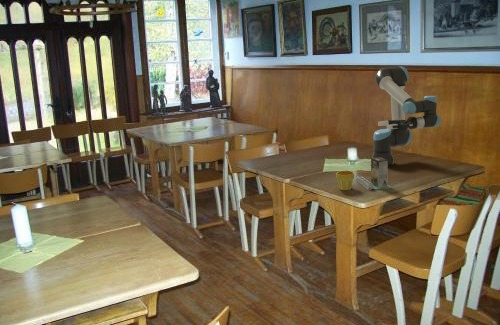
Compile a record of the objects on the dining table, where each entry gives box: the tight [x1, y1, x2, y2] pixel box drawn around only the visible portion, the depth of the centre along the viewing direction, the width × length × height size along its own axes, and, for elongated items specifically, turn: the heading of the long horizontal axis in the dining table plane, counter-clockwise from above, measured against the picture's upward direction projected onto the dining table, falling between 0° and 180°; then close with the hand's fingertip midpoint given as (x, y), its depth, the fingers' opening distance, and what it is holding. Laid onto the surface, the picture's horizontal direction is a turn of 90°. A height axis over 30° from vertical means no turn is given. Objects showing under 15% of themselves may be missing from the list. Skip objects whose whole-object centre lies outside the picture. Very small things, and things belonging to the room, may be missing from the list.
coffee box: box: [370, 157, 389, 188], centre depth 294 cm, size 9×6×16 cm
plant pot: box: [335, 170, 355, 191], centre depth 295 cm, size 10×10×10 cm
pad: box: [374, 184, 392, 191], centre depth 296 cm, size 10×12×1 cm
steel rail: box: [356, 175, 375, 191], centre depth 300 cm, size 3×20×3 cm, turn 8°
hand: (382, 125), depth 310 cm, fingers open, 13 cm apart
